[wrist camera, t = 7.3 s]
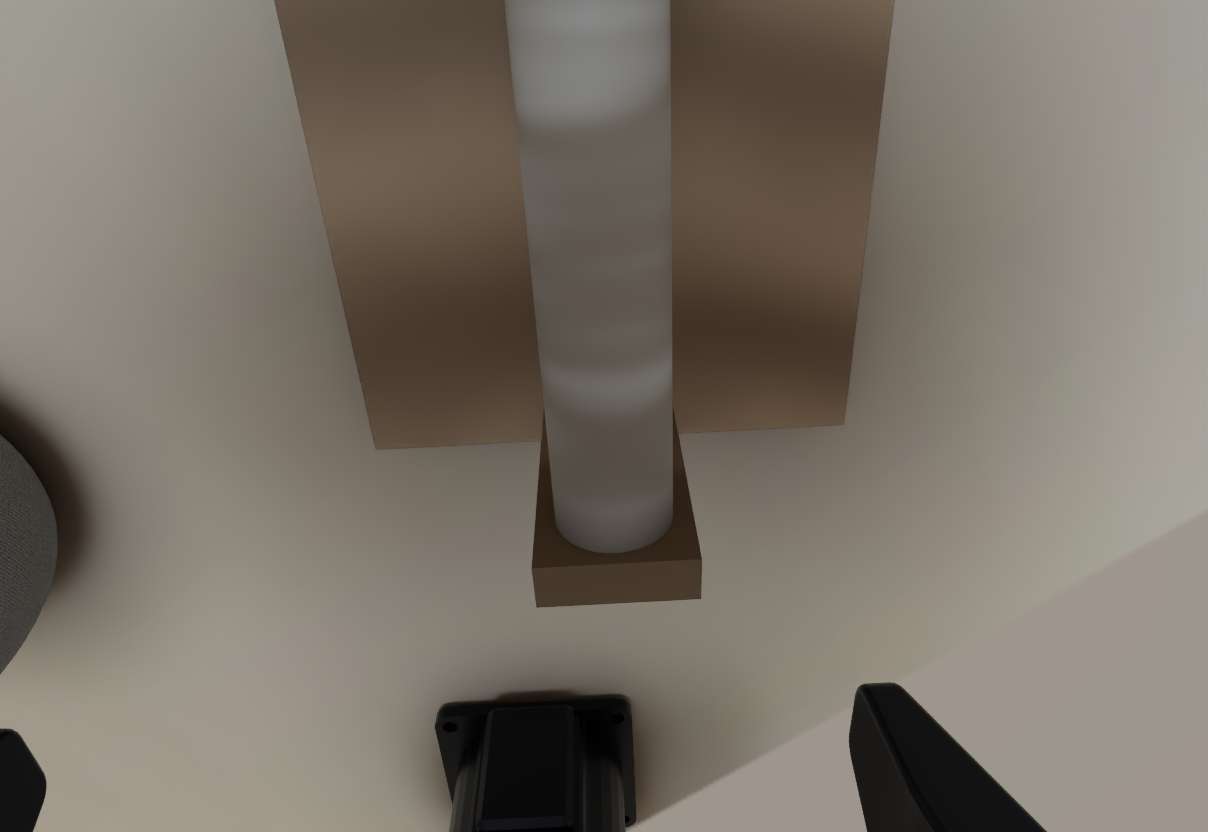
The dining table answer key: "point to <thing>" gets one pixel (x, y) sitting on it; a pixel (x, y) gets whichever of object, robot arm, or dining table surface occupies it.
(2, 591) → the smart speaker
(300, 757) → the dining table surface
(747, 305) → the pipe stand
